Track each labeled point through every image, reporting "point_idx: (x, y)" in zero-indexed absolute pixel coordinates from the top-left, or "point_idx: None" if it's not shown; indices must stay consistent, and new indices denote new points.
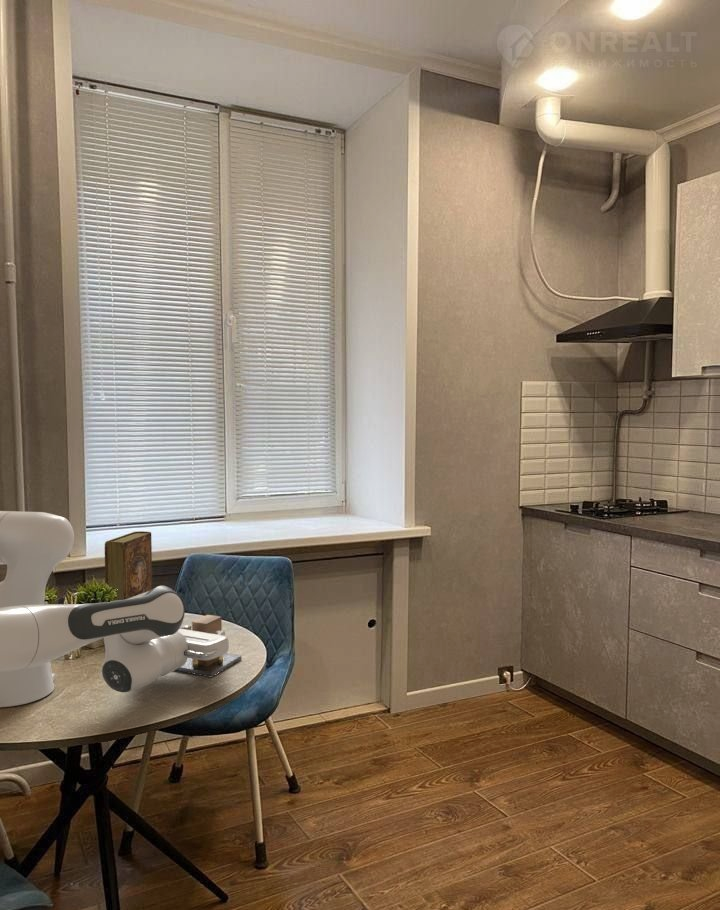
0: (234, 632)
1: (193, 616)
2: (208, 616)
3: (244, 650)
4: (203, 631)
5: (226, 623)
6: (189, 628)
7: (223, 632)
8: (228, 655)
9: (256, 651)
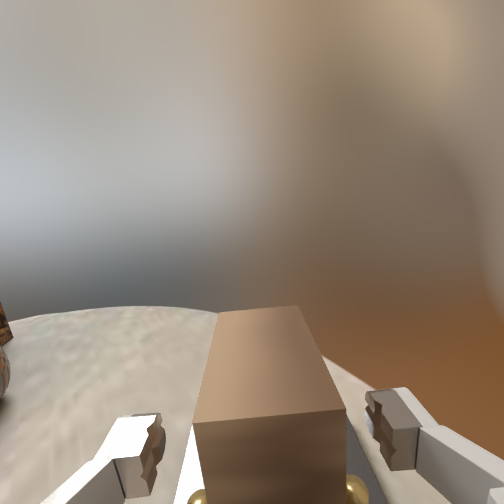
0: (206, 321)
1: (103, 310)
2: (239, 321)
3: None
4: (317, 467)
5: (173, 307)
6: (153, 435)
7: (412, 399)
8: None
9: None
